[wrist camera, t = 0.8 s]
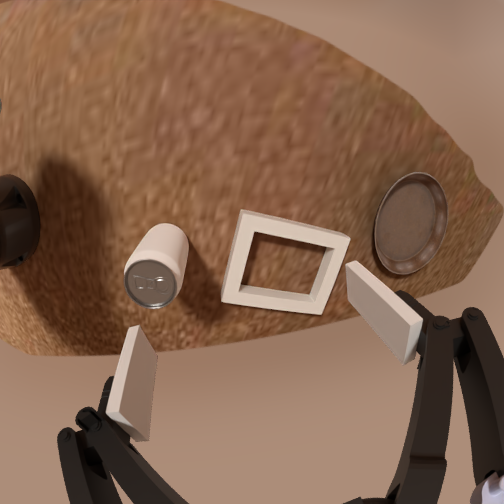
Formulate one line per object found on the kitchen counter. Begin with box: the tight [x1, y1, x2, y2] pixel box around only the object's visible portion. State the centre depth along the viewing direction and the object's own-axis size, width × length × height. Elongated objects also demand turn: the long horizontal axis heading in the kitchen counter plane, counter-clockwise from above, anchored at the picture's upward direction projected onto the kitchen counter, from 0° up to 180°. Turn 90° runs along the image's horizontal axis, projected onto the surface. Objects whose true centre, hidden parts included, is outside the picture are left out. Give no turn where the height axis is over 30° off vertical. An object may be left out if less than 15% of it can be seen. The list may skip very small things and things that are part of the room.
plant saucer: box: [374, 172, 448, 274], centre depth 40 cm, size 18×18×3 cm
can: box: [124, 223, 189, 309], centre depth 31 cm, size 6×6×12 cm
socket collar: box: [221, 209, 351, 315], centre depth 39 cm, size 16×13×2 cm
